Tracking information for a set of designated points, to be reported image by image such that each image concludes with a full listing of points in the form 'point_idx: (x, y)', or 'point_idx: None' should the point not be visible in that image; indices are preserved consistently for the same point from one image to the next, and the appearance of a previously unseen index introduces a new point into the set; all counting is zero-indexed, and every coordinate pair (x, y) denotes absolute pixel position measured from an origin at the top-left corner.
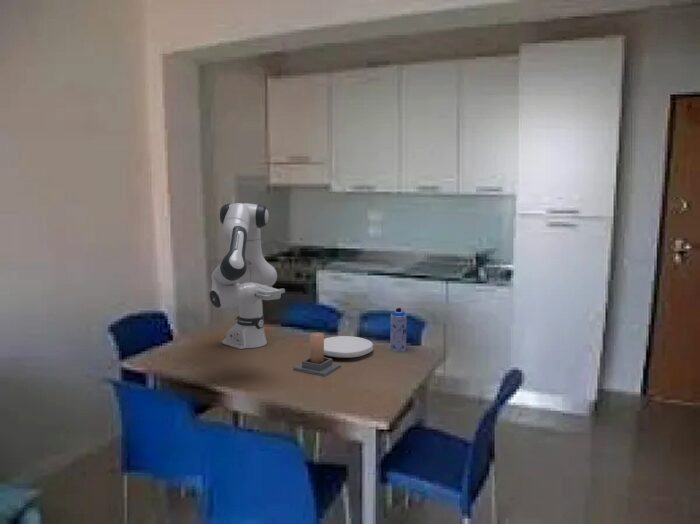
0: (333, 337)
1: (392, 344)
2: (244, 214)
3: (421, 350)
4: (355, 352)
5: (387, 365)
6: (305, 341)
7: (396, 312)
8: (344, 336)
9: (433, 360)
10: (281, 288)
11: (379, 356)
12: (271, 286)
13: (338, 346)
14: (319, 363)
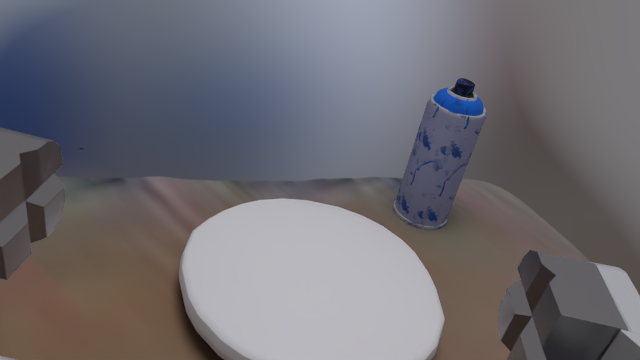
0: (230, 240)
1: (426, 208)
2: None
3: (470, 198)
4: (441, 331)
5: None
6: (53, 269)
7: (467, 100)
8: (258, 216)
9: (566, 243)
10: (560, 276)
11: (439, 279)
12: (44, 172)
13: (358, 325)
14: None
